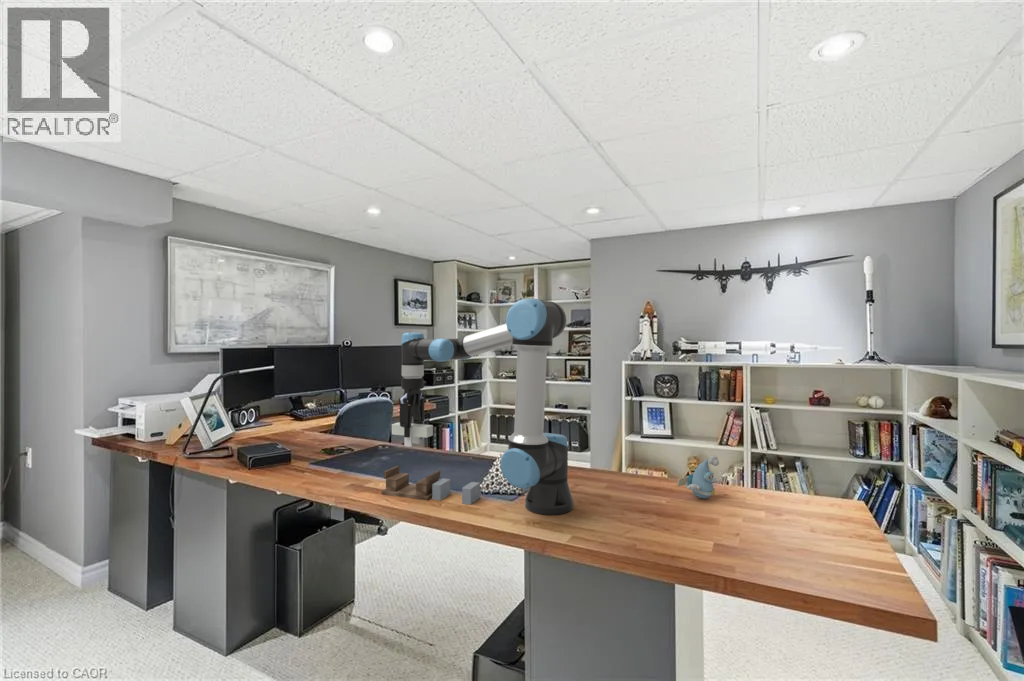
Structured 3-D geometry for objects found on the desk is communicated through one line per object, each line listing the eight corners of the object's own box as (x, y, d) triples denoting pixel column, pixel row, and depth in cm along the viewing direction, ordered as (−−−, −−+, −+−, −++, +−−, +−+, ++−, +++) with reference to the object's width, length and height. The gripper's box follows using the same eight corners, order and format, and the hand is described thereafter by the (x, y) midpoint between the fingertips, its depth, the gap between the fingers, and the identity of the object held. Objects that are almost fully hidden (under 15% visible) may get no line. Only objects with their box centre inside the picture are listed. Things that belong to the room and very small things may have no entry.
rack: (442, 491, 163) (442, 469, 163) (427, 500, 154) (427, 477, 154) (398, 485, 169) (398, 464, 169) (381, 493, 160) (381, 472, 160)
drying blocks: (479, 497, 156) (479, 482, 156) (470, 504, 150) (470, 489, 150) (442, 492, 161) (442, 478, 161) (432, 499, 155) (432, 484, 155)
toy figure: (705, 508, 147) (705, 460, 147) (675, 499, 155) (675, 454, 155) (730, 496, 158) (730, 452, 158) (701, 488, 166) (701, 446, 166)
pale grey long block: (432, 435, 161) (432, 425, 161) (426, 437, 157) (426, 427, 157) (398, 432, 166) (398, 422, 166) (391, 434, 162) (391, 424, 162)
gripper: (416, 375, 171) (416, 438, 171) (388, 378, 155) (388, 449, 155) (434, 375, 168) (434, 440, 168) (407, 379, 152) (407, 451, 152)
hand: (412, 444), depth 162 cm, fingers closed on pale grey long block, 4 cm apart
